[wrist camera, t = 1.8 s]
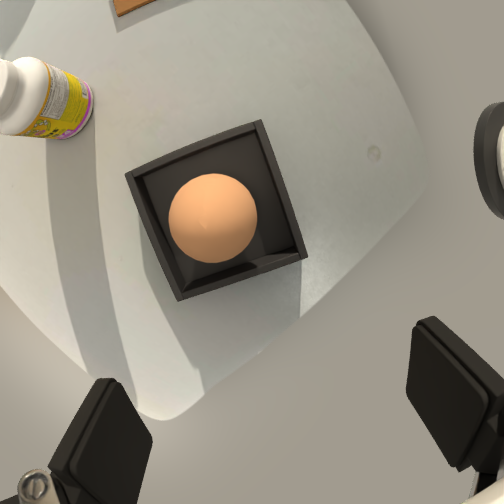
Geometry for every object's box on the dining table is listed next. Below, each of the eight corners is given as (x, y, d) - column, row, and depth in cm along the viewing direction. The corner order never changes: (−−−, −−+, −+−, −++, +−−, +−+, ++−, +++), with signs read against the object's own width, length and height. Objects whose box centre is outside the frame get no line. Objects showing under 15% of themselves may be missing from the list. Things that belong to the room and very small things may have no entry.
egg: (176, 238, 28) (147, 269, 19) (188, 166, 26) (162, 165, 17) (246, 253, 28) (247, 290, 20) (262, 181, 26) (271, 186, 18)
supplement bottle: (39, 134, 24) (-45, 129, 12) (58, 77, 23) (-19, 48, 10) (84, 145, 25) (-3, 139, 13) (105, 83, 23) (30, 44, 11)
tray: (259, 123, 25) (261, 118, 23) (302, 249, 28) (308, 257, 26) (135, 173, 26) (124, 173, 23) (183, 290, 29) (177, 302, 27)
